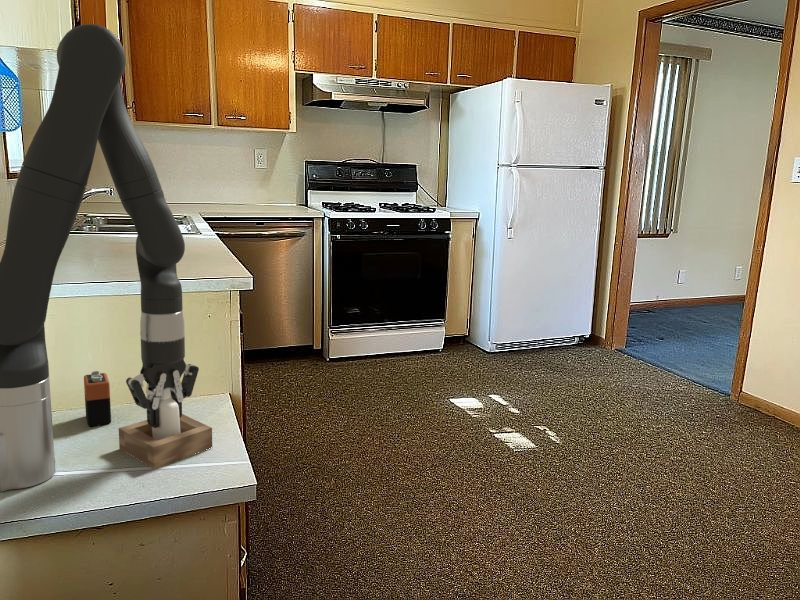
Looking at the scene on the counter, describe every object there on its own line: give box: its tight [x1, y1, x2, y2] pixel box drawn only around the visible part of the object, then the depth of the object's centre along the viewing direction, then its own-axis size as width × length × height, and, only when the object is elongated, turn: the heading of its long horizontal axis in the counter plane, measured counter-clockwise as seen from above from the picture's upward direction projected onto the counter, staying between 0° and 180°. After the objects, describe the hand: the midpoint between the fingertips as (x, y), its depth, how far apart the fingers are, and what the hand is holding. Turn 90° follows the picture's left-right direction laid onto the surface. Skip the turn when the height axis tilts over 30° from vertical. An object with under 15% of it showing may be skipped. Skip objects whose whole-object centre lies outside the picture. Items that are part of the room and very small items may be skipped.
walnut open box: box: [118, 413, 213, 470], centre depth 117 cm, size 12×12×4 cm
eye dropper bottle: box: [152, 388, 180, 440], centre depth 115 cm, size 4×6×12 cm
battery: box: [83, 370, 112, 427], centre depth 128 cm, size 4×7×10 cm, turn 30°
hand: (165, 422), depth 116 cm, fingers open, 3 cm apart
